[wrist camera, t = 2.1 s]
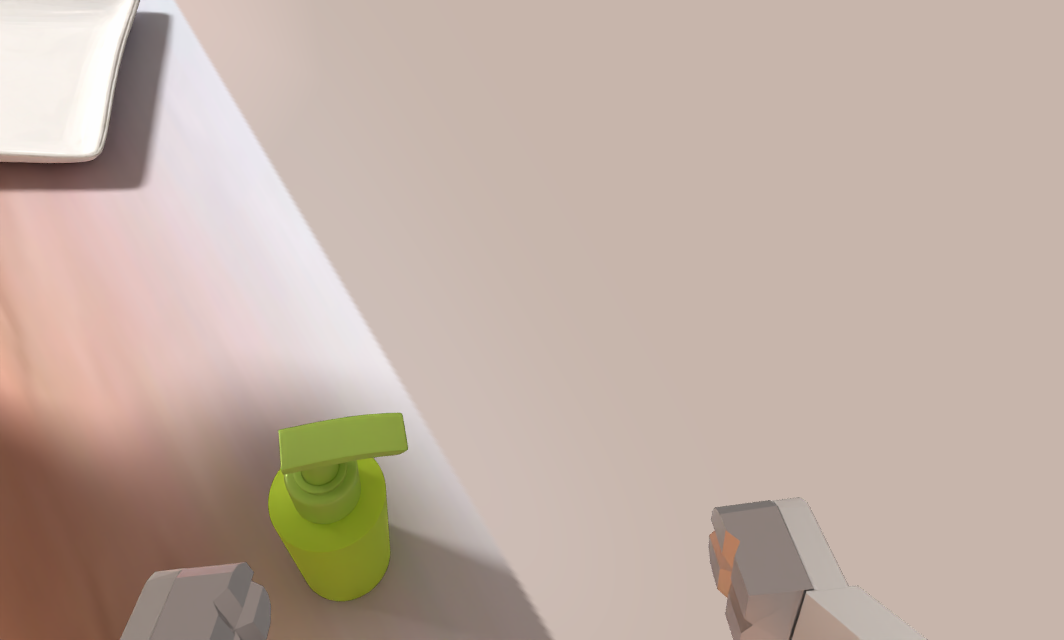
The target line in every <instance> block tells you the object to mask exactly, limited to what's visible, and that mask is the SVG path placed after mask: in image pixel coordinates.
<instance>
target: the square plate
mask: <svg viewBox="0 0 1064 640" xmlns="http://www.w3.org/2000/svg"><path fill="white" fill-rule="evenodd" d="M139 2H140V0H0V162H28V163H75V162H86V161H90V160H93V159H95V158H96V157H97V156H98V155H100V154H101V152H102V150H103V147H104V144H105V141H106V137H107V132H108V128H109V122H110V116H111V110H112V104H113V98H114V93H115V87H116V82H117V77H118V72H119V68H120V64H121V60H122V56H123V52H124V49H125V45H126V42H127V38H128V35H129V33H130V30H131V27H132V24H133V21H134V18H135V15H136V12H137V9H138V5H139Z"/></svg>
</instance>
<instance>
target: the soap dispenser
mask: <svg viewBox="0 0 1064 640" xmlns="http://www.w3.org/2000/svg"><path fill="white" fill-rule="evenodd" d="M279 448H280V465H281V468H280V470H279V471H278V473H277V474H276V476H275V478H274V480H273V482H272V485H271V488H270V492H269V497H268V510H269V515H270V519H271V522H272V524H273V526H274V528H275V530H276V531H277V533H278V535H279V536H280V538H281V540H282V541H283V543H284V545H285V547H286V548H287V550H288V552H289V553H290V555H291V557H292V558H293V560H294V562H295V563H296V565H297V567H298V568H299V570H300V572H301V574H302V575H303V577H304V579H305V580H306V582H307V584H308V585H309V586H310V588H311V589H312V590H313V591H314V592H315V593H317V594H318V595H320V596H321V597H323V598H326V599H329V600H333V601H349V600H353V599H356V598H359V597H361V596H363V595H365V594H366V593H368V592H369V591H371V590H372V589H373V588H374V587H375V586H376V585H377V584H378V583H379V582H380V580H381V579H382V577H383V576H384V574H385V572H386V570H387V567H388V564H389V559H390V540H389V526H388V512H387V497H386V484H385V479H384V476H383V473H382V470H381V468H380V466H379V465H378V463H377V462H376V461H375V459H374V457H381V456H391V455H399V454H401V453H403V452H405V451H407V450H408V445H407V439H406V433H405V427H404V421H403V415H402V414H401V413H382V414H369V415H359V416H351V417H344V418H337V419H331V420H326V421H320V422H315V423H310V424H305V425H300V426H295V427H290V428H285V429H280V430H279Z"/></svg>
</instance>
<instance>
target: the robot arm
mask: <svg viewBox="0 0 1064 640" xmlns="http://www.w3.org/2000/svg"><path fill="white" fill-rule="evenodd" d="M711 521H712V524H713V526H714V530H715V531H713V532H712V533H711V534H710V535H709V556H710V564H711V568H712V572H713V576H714V579H715V583H716V586H717V589H718V590H719V591H720V592H721V593H722V594H724V595H725V596H726V597H727V606H726V612H725V615H726V618H727V621H728V624H729V628H730V630H731V634H732V637H733V640H928V639H926V638H925V637H924V636H922V635H921V634H920V633H918V632H917V631H916V630H915V629H913V628H912V627H911V626H910V625H908V624H907V623H906V622H904V621H903V620H902V619H901V618H899V617H898V616H897V615H895V614H894V613H893V612H891V611H890V610H889V609H888V608H886V607H885V606H883V605H882V604H881V603H880V602H879V601H877V600H876V599H875V598H873V597H872V596H871V595H870V594H868V593H867V592H866V591H864V590H863V589H862V588H861V587H859V586H849V585H848V583H847V581H846V579H845V577H844V575H843V573H842V571H841V569H840V567H839V565H838V563H837V561H836V559H835V557H834V555H833V553H832V551H831V549H830V547H829V545H828V543H827V541H826V539H825V537H824V535H823V533H822V531H821V529H820V527H819V525H818V522H817V520H816V518H815V516H814V514H813V512H812V510H811V508H810V506H809V505H808V503H807V502H806V501H805V500H804V499H803V498H800V497H797V498H790V499H782V500H775V501H770V500H768V501H761V502H753V503H745V504H738V505H730V506H723V507H715V508H714V509H713V511H712V517H711ZM253 573H254V572H253V571H252V569H251V568H250V567H249V565H248V564H247V563H246V562H242V563H233V564H223V565H214V566H205V567H195V568H182V569H174V570H165V571H157V572H154V573H153V575H152V576H151V577H150V578H149V579H148V580H147V581H146V583H145V585H144V587H143V589H142V592H141V594H140V596H139V598H138V600H137V603H136V605H135V607H134V609H133V611H132V614H131V616H130V618H129V620H128V622H127V625H126V627H125V629H124V631H123V633H122V636H121V638H120V640H266V639H267V635H268V631H269V627H270V621H271V604H270V600H269V596H268V593H267V592H266V590H265V588H264V587H263V586H261V585H259V584H257V583H255V582H253V581H251V580H252V577H253Z"/></svg>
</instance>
